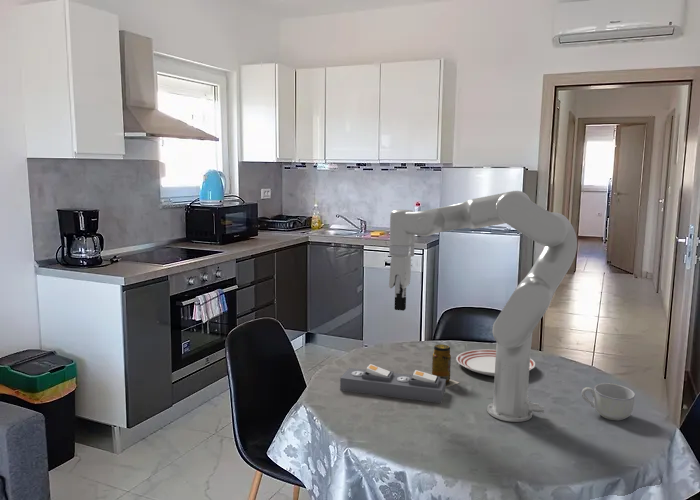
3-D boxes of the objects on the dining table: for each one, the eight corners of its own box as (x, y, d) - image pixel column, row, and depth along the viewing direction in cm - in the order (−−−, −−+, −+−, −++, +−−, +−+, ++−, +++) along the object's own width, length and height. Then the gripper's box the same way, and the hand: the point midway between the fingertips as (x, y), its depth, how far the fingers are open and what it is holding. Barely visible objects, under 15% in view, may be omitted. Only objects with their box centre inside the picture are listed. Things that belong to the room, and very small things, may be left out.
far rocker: (389, 374, 186) (390, 371, 186) (386, 379, 182) (387, 375, 181) (369, 367, 188) (370, 363, 187) (365, 371, 183) (366, 367, 183)
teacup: (634, 413, 169) (636, 387, 168) (630, 427, 160) (633, 400, 159) (583, 403, 176) (585, 378, 175) (577, 416, 167) (579, 389, 166)
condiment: (440, 376, 198) (441, 342, 196) (459, 383, 191) (461, 348, 190) (425, 380, 193) (426, 345, 192) (444, 388, 187) (446, 352, 185)
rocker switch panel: (445, 391, 184) (445, 375, 183) (441, 403, 175) (441, 386, 174) (349, 379, 193) (349, 364, 192) (340, 390, 184) (340, 374, 183)
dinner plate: (440, 366, 208) (440, 357, 207) (484, 351, 226) (485, 343, 226) (506, 388, 188) (507, 378, 187) (549, 370, 206) (550, 361, 205)
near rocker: (436, 379, 182) (437, 375, 181) (434, 384, 177) (435, 380, 177) (414, 373, 183) (415, 369, 183) (412, 378, 179) (412, 374, 179)
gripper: (394, 246, 183) (393, 303, 186) (384, 253, 169) (382, 314, 172) (418, 248, 181) (416, 305, 184) (409, 254, 167) (407, 316, 169)
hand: (400, 309), depth 178 cm, fingers closed
